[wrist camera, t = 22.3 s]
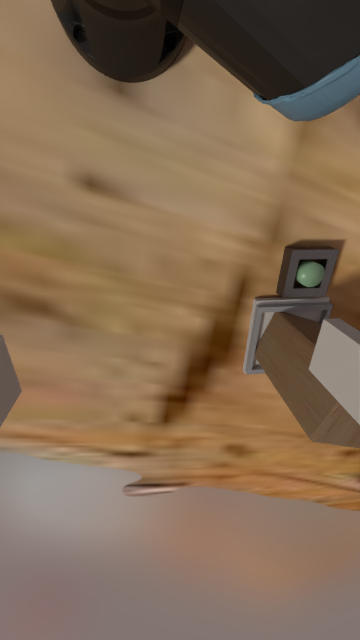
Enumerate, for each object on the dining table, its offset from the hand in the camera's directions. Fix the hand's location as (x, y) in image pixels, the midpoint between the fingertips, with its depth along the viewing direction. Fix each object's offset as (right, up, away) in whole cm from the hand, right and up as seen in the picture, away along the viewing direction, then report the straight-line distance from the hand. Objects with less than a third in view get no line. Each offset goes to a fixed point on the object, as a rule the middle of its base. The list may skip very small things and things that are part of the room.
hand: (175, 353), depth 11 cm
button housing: (+22, +10, +34) cm, 41 cm away
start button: (+22, +10, +33) cm, 41 cm away
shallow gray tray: (+20, -1, +40) cm, 45 cm away
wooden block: (+20, -2, +39) cm, 44 cm away
